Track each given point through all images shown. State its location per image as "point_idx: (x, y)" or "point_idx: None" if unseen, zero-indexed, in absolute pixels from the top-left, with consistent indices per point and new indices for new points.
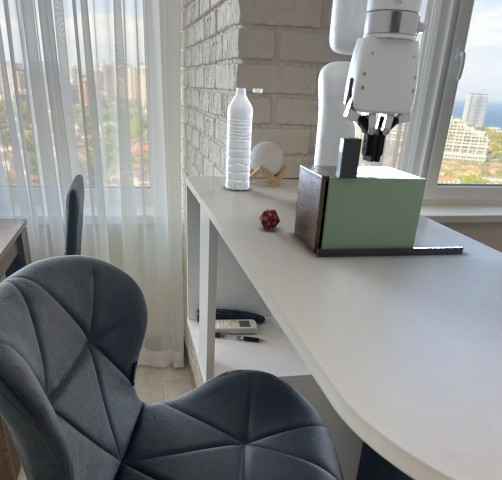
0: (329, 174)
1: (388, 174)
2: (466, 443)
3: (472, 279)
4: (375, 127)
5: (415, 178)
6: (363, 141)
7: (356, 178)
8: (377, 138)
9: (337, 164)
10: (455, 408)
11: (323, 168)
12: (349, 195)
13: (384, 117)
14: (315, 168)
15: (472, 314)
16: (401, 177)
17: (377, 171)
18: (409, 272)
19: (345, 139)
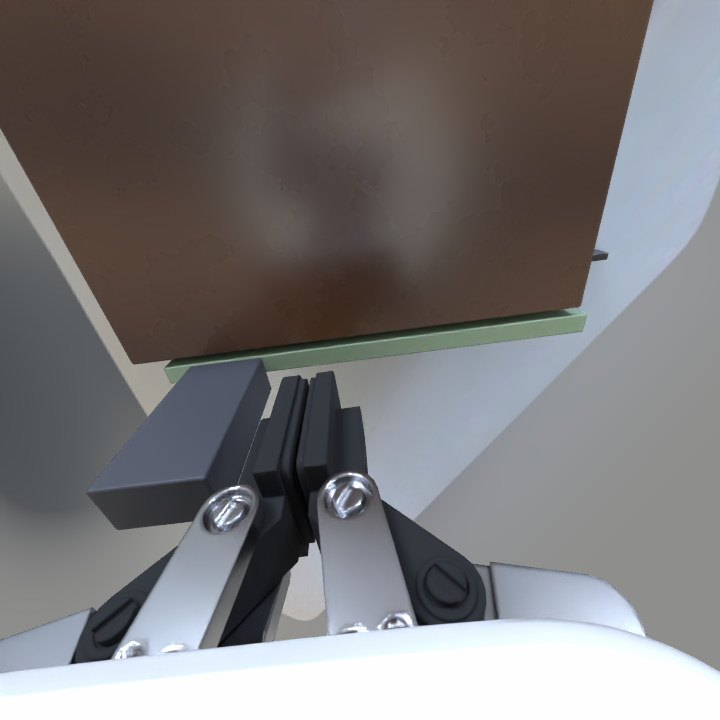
0: (159, 320)
1: (462, 245)
2: (311, 606)
3: (495, 398)
4: (281, 601)
5: (536, 331)
6: (248, 466)
7: (275, 369)
8: (313, 534)
9: (167, 396)
10: (318, 589)
11: (100, 85)
12: None
13: (383, 621)
14: (47, 102)
15: (413, 493)
16: (484, 318)
17: (448, 134)
18: (403, 376)
19: (127, 526)
